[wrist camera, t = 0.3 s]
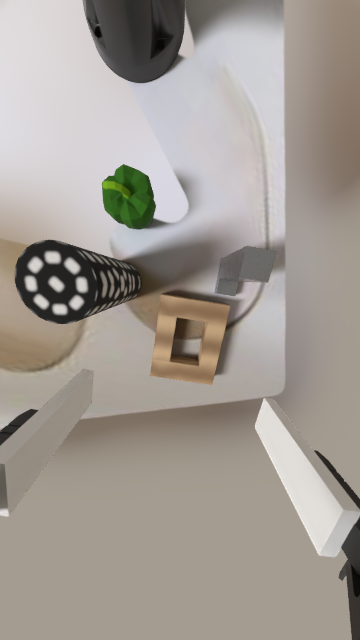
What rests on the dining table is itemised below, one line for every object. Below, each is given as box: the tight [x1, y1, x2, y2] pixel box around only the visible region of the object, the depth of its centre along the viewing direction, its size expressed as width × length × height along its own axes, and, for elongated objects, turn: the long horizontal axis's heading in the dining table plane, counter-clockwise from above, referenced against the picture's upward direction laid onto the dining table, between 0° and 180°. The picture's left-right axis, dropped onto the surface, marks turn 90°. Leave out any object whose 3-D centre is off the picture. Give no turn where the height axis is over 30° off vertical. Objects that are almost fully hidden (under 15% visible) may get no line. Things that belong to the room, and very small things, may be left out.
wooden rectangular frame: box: [150, 294, 230, 385], centre depth 38 cm, size 18×14×4 cm
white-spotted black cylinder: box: [15, 240, 141, 324], centre depth 27 cm, size 8×8×20 cm
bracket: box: [214, 246, 277, 296], centre depth 30 cm, size 7×4×14 cm, turn 171°
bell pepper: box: [102, 164, 156, 229], centre depth 29 cm, size 8×8×10 cm
